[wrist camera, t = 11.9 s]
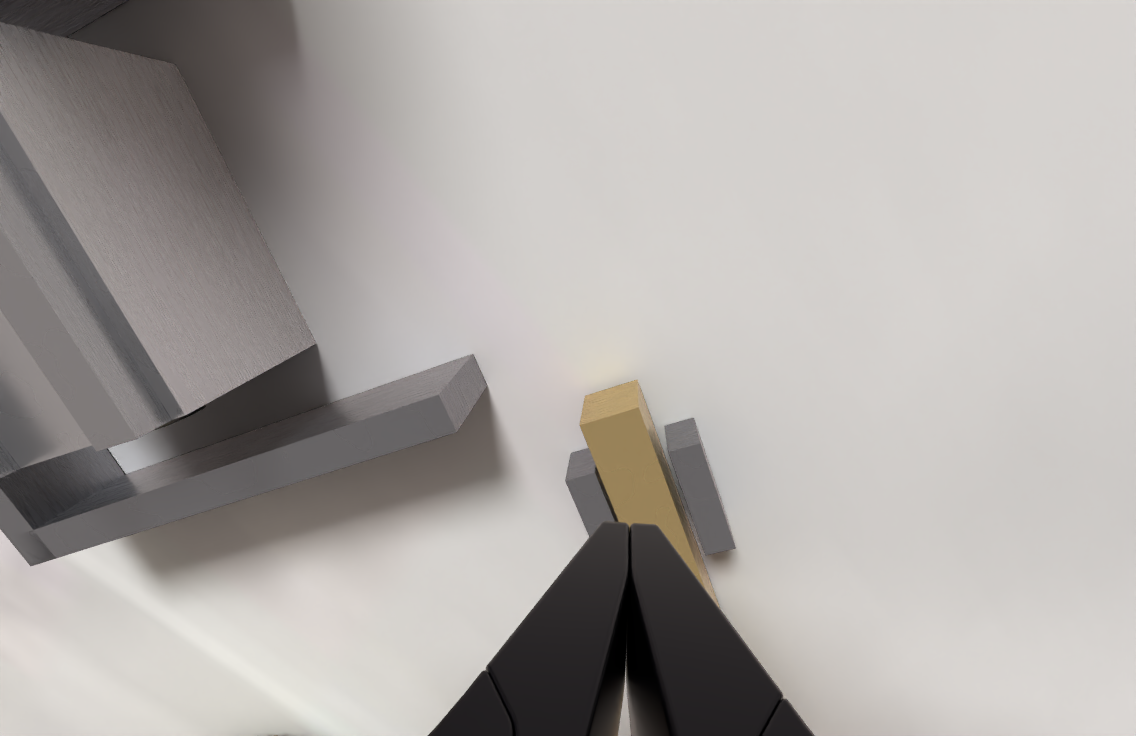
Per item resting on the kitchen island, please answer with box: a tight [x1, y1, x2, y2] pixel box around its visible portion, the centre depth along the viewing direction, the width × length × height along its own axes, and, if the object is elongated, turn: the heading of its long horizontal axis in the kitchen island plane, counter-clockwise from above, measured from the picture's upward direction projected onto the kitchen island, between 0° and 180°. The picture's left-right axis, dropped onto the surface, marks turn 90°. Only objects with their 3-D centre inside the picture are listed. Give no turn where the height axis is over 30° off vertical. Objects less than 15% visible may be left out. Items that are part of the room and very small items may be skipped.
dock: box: [0, 0, 736, 566], centre depth 17 cm, size 23×23×4 cm
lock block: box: [0, 22, 316, 478], centre depth 15 cm, size 10×7×7 cm
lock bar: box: [580, 380, 720, 608], centre depth 18 cm, size 20×2×4 cm, turn 21°
